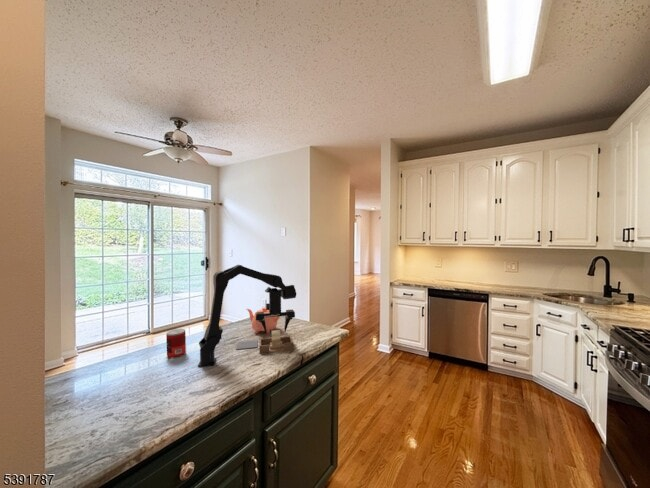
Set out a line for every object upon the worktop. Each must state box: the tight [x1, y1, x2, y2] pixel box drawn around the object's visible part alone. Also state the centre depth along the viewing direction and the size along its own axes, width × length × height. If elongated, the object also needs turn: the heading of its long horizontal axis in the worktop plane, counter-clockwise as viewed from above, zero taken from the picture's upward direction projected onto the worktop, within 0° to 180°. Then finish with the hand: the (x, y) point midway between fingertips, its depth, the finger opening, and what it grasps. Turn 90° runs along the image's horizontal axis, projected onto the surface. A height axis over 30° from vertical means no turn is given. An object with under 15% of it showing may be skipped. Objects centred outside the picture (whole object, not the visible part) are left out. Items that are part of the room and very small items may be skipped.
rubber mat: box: [235, 339, 259, 351], centre depth 138 cm, size 10×10×1 cm
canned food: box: [165, 328, 187, 359], centre depth 128 cm, size 8×8×11 cm
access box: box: [258, 335, 295, 355], centre depth 134 cm, size 10×16×4 cm, turn 104°
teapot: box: [246, 307, 281, 334], centre depth 161 cm, size 16×17×14 cm
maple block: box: [271, 329, 281, 346], centre depth 134 cm, size 4×4×6 cm
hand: (275, 332), depth 134 cm, fingers open, 9 cm apart
